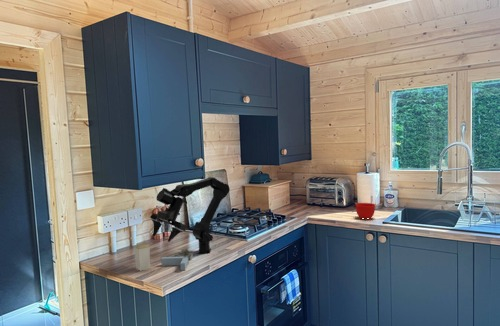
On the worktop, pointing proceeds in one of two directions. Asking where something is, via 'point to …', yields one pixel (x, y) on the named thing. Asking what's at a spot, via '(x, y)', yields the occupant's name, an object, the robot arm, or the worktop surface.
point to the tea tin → (142, 256)
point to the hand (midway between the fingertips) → (160, 238)
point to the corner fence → (175, 261)
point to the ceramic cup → (365, 210)
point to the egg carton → (184, 254)
